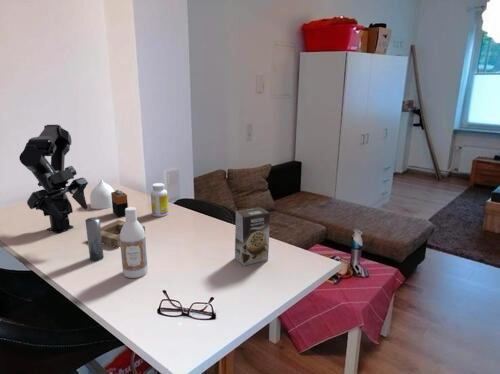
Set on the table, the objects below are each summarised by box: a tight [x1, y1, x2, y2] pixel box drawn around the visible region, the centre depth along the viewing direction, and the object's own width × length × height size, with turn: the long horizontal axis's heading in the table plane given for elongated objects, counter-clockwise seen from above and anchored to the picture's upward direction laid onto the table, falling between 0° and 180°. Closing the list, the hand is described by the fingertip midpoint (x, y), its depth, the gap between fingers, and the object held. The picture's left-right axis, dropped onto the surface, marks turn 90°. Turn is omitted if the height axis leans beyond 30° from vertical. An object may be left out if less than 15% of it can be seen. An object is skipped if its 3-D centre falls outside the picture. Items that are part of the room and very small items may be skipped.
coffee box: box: [234, 206, 271, 267], centre depth 117 cm, size 9×6×16 cm
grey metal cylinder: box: [85, 216, 105, 262], centre depth 117 cm, size 4×4×13 cm
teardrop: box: [89, 178, 115, 210], centre depth 164 cm, size 11×11×12 cm
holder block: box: [100, 219, 146, 249], centre depth 134 cm, size 13×13×3 cm
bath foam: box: [119, 206, 148, 279], centre depth 107 cm, size 7×7×20 cm
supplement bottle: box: [150, 182, 169, 218], centre depth 154 cm, size 7×7×13 cm
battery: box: [111, 189, 129, 218], centre depth 154 cm, size 4×7×10 cm, turn 38°
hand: (74, 213), depth 119 cm, fingers open, 9 cm apart
